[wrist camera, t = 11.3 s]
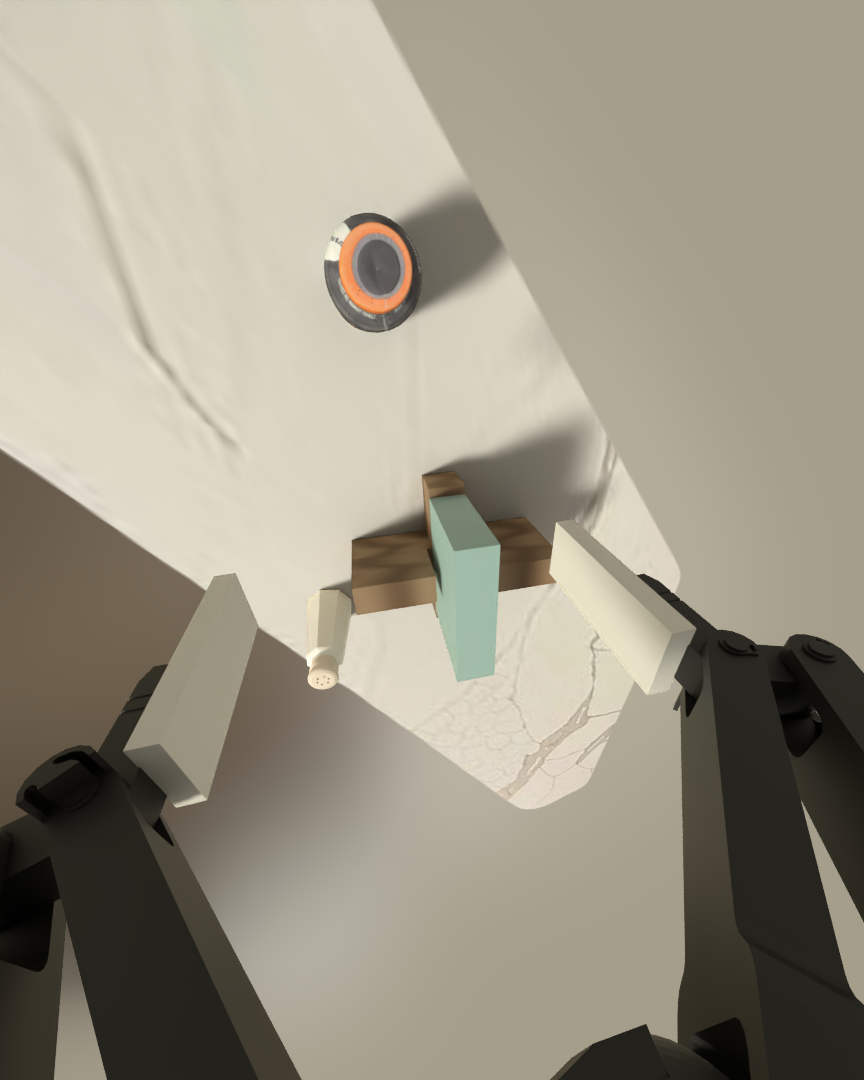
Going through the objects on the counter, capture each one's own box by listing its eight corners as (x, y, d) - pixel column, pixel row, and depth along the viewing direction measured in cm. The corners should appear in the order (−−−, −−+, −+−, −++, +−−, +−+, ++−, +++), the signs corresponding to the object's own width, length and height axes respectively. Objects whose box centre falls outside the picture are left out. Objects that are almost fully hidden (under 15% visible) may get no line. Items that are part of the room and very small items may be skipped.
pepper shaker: (317, 629, 45) (308, 707, 35) (297, 596, 42) (281, 672, 33) (359, 614, 45) (361, 688, 35) (342, 581, 42) (339, 652, 33)
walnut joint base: (364, 607, 44) (366, 663, 37) (341, 484, 36) (338, 524, 29) (519, 582, 47) (551, 630, 39) (528, 462, 39) (571, 493, 31)
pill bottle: (314, 280, 28) (293, 250, 19) (372, 223, 27) (382, 161, 18) (366, 348, 31) (372, 353, 21) (420, 300, 30) (451, 282, 20)
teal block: (429, 498, 35) (453, 551, 26) (464, 493, 35) (500, 544, 27) (436, 610, 42) (457, 681, 33) (465, 606, 42) (494, 674, 33)
